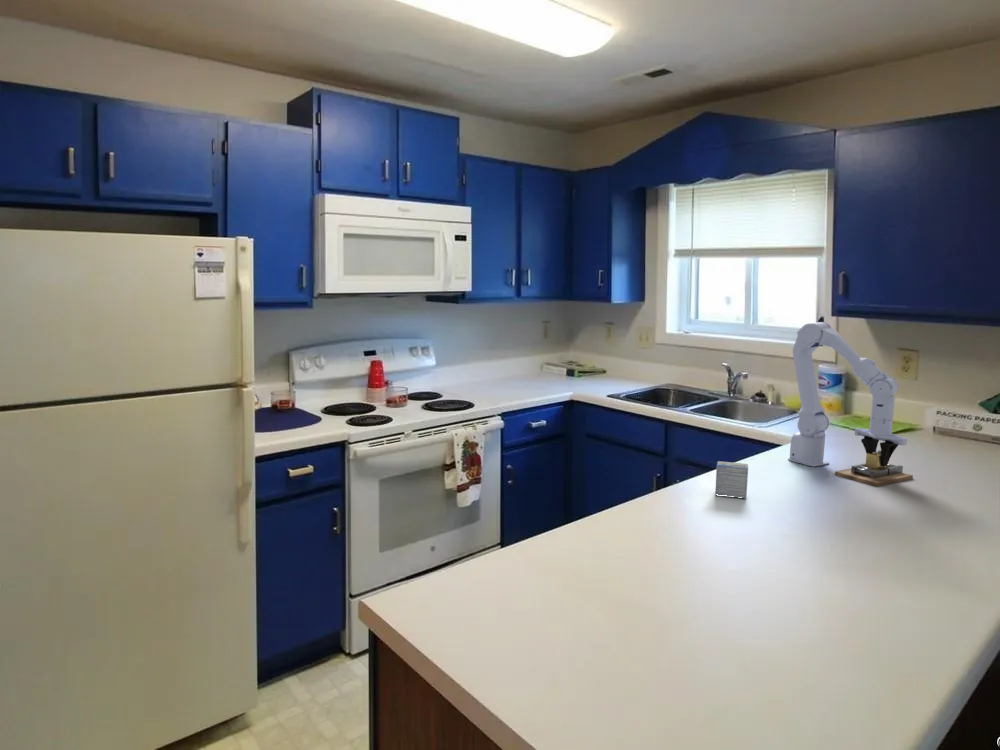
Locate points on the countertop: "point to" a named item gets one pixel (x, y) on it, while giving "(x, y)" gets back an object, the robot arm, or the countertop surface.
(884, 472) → the chain end
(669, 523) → the countertop surface
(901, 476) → the chain board
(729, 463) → the medicine box
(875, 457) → the brass block with studs
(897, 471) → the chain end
